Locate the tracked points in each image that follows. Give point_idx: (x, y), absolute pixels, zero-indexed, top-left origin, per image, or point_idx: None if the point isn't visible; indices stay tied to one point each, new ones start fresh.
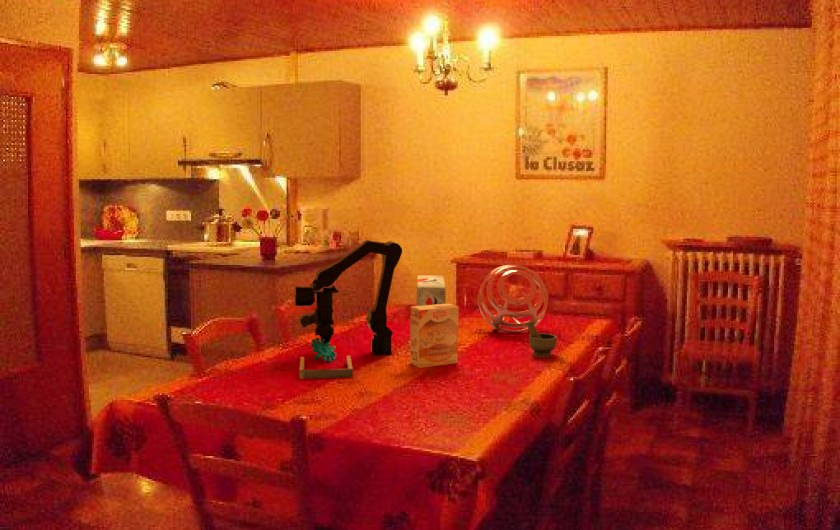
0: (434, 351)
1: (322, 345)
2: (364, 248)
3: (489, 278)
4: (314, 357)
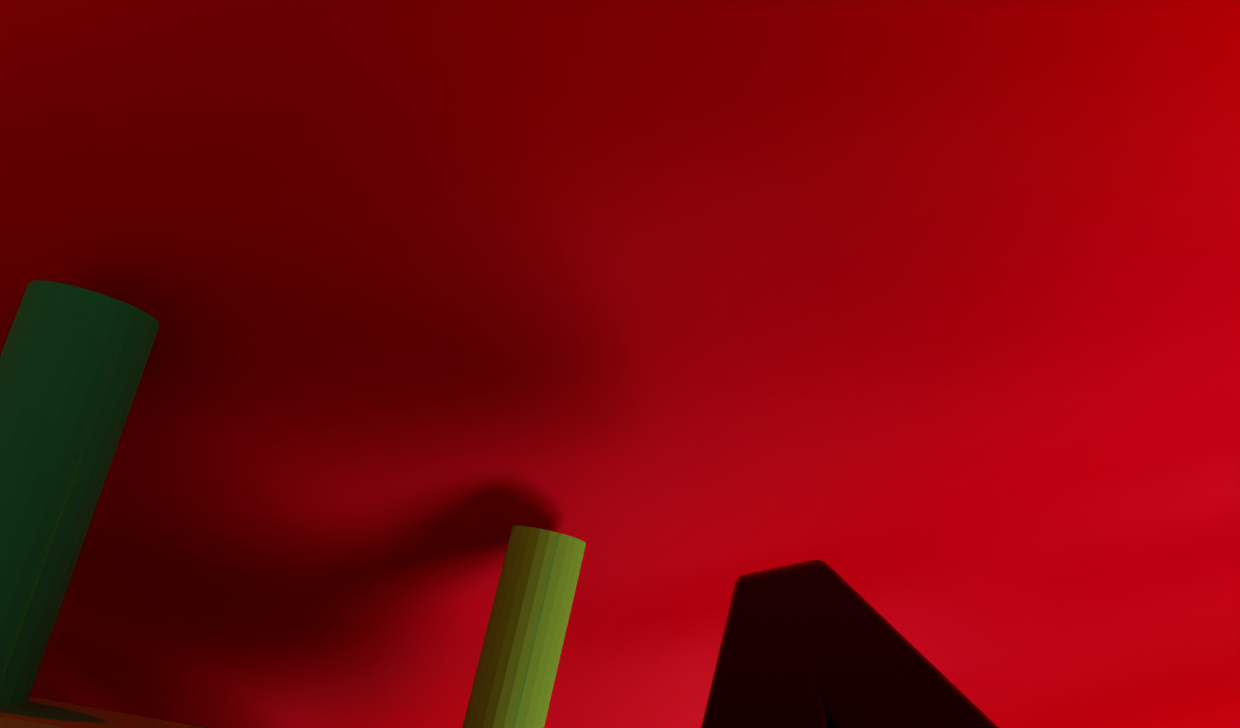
0: None
1: None
2: None
3: None
4: (29, 311)
